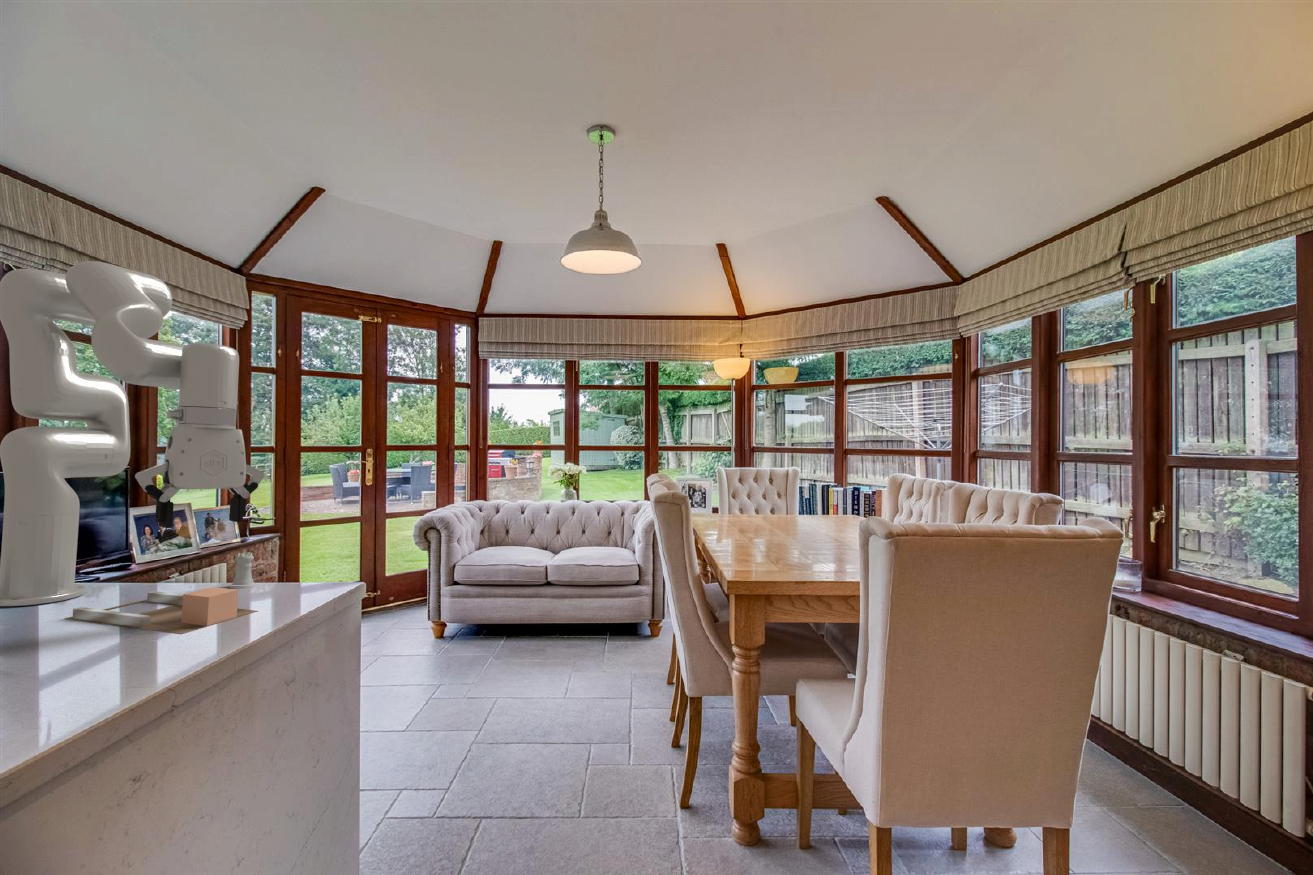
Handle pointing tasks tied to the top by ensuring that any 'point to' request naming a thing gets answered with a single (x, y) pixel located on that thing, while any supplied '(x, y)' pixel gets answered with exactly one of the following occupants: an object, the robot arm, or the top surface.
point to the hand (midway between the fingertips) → (202, 524)
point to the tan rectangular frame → (147, 615)
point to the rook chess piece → (243, 571)
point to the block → (209, 606)
